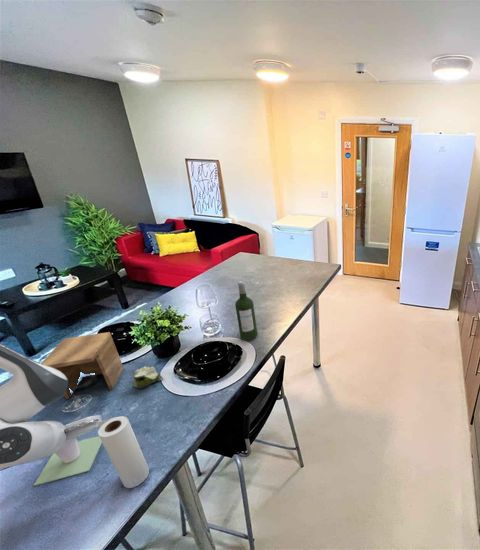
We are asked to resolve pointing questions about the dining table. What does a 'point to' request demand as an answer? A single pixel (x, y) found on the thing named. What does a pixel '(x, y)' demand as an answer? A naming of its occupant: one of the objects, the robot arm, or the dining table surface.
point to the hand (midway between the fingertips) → (61, 437)
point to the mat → (80, 465)
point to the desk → (86, 359)
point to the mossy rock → (145, 377)
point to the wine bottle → (245, 314)
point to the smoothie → (68, 451)
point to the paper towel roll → (123, 450)
